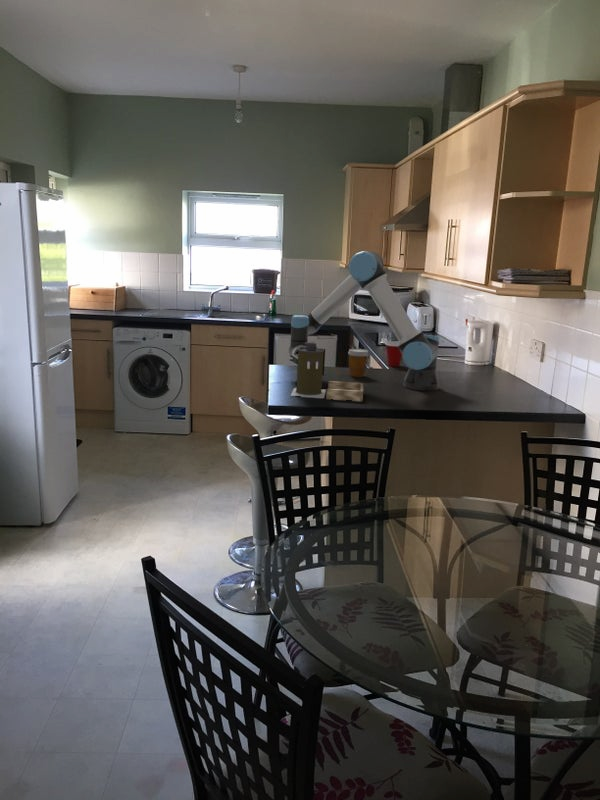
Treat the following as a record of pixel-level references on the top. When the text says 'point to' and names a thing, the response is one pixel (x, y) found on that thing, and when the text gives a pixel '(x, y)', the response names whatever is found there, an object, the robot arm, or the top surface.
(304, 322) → the robot arm
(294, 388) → the mat
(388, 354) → the plastic cup
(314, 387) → the canister
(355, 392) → the tan low open frame
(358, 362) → the disposable coffee cup
